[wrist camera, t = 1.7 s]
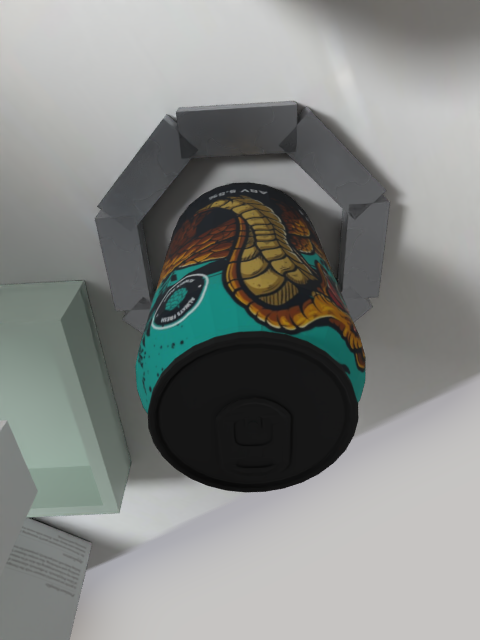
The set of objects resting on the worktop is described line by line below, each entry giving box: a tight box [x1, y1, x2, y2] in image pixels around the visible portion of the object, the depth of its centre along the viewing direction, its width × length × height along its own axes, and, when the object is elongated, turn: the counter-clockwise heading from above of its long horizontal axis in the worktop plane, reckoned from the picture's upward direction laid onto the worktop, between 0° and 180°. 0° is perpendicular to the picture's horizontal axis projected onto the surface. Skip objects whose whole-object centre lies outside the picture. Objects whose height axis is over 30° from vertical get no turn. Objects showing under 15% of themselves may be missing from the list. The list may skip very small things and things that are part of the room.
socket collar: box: [95, 101, 390, 333], centre depth 22 cm, size 13×13×1 cm
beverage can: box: [135, 183, 365, 492], centre depth 18 cm, size 7×7×12 cm
